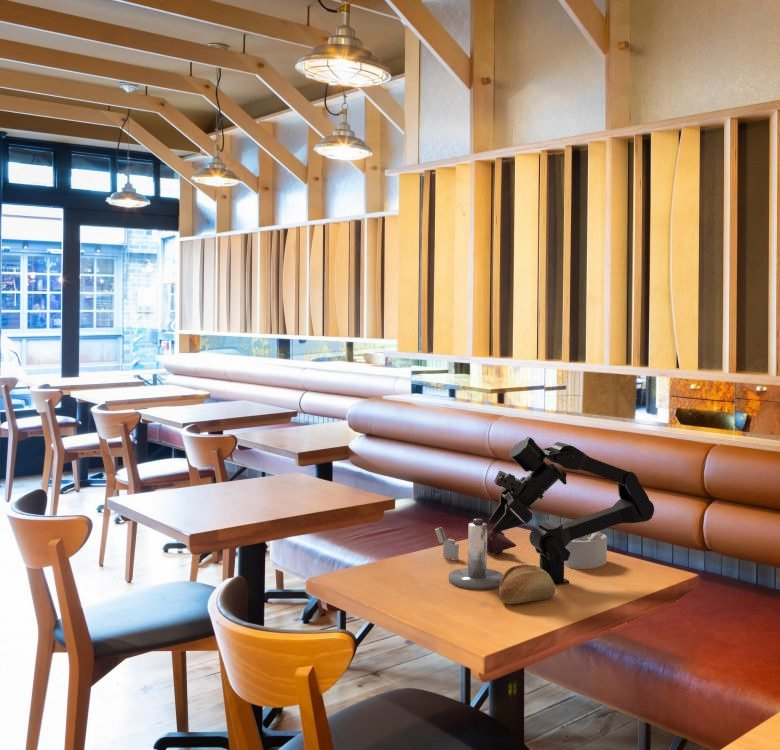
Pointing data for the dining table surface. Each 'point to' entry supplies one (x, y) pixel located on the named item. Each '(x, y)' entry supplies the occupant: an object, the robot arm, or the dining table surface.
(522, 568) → the bread roll
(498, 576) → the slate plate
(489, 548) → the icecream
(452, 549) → the lighter
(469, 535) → the pepper mill
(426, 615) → the dining table surface
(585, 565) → the lumpy-topped squat cylinder
